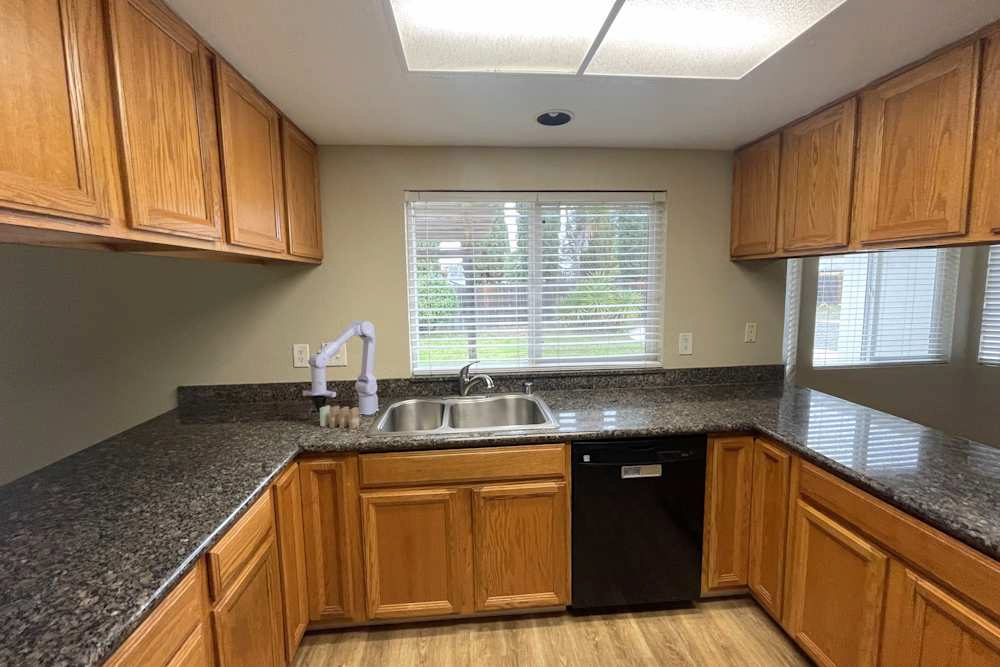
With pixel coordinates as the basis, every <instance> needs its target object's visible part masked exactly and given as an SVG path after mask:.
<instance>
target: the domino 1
mask: <svg viewBox="0 0 1000 667" xmlns="http://www.w3.org/2000/svg"><path fill="white" fill-rule="evenodd" d="M329 409H331V405H328V404H327V405H324V407H322V408H320V413H319V421H320V423H319V424H320V426H323V427H322V428H325V427H326V425H327V426H328V425H330V424H329V423H330V412H329ZM324 426H325V427H324Z"/></svg>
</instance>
